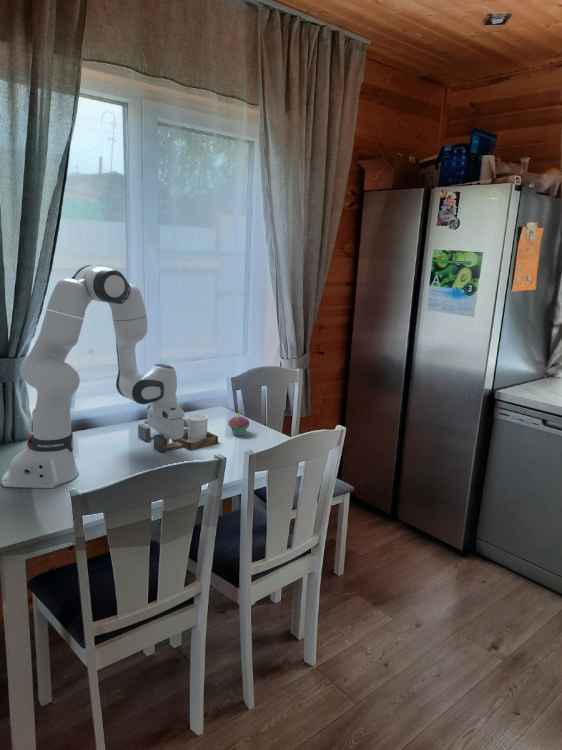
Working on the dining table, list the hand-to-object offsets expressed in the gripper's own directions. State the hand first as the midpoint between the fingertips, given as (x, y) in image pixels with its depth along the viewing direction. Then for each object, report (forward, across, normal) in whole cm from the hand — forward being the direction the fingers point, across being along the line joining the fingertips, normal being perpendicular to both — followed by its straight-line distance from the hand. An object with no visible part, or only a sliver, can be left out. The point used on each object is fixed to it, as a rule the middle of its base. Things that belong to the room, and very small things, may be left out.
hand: (164, 443), depth 204 cm
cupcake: (+2, +2, +32) cm, 33 cm away
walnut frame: (+2, 0, +8) cm, 9 cm away
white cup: (+2, 0, +14) cm, 14 cm away
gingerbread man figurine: (+2, -27, +11) cm, 29 cm away
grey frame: (+2, -14, +9) cm, 17 cm away
